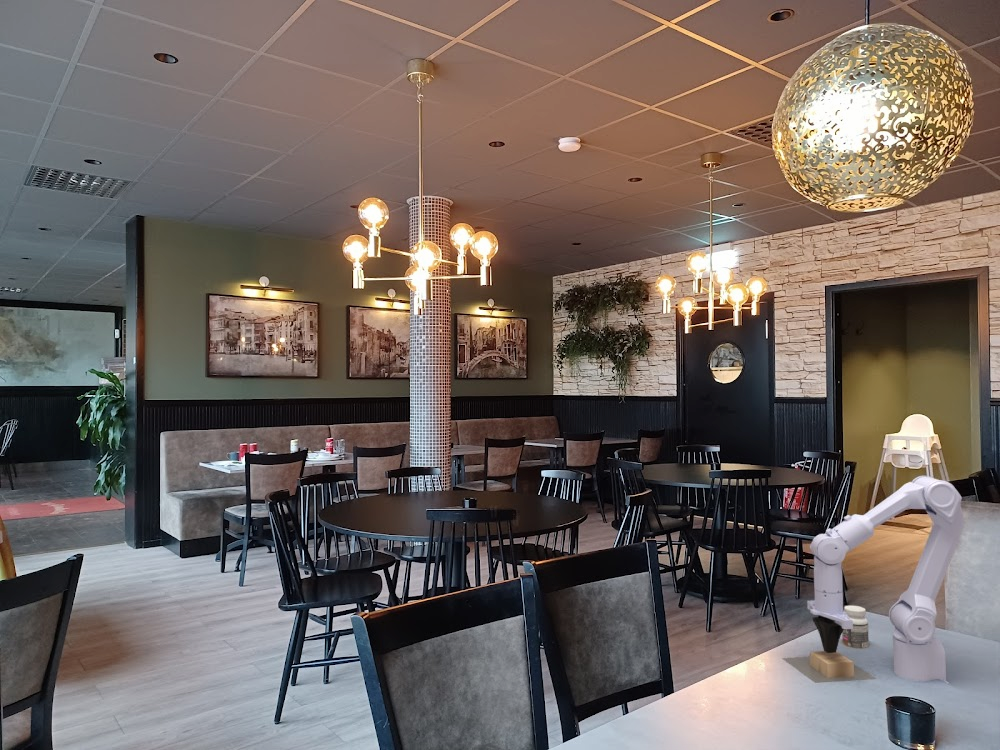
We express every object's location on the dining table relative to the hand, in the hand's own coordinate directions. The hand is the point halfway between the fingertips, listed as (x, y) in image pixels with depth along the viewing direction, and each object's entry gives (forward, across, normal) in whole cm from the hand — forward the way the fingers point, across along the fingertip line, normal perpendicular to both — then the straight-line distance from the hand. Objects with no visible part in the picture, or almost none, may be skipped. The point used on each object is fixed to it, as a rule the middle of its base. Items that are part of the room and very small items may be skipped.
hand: (830, 651), depth 158 cm
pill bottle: (+5, -14, +15) cm, 21 cm away
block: (+2, -3, 0) cm, 4 cm away
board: (+5, -1, 0) cm, 5 cm away
